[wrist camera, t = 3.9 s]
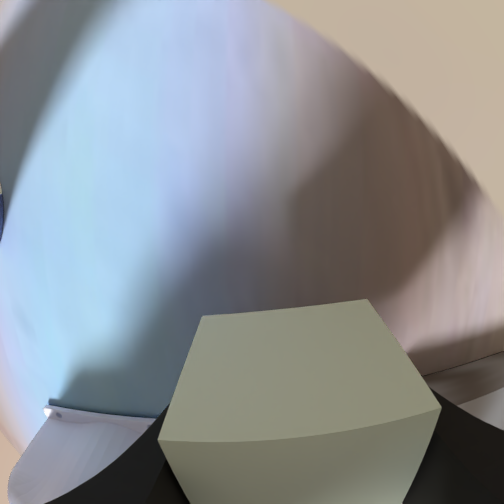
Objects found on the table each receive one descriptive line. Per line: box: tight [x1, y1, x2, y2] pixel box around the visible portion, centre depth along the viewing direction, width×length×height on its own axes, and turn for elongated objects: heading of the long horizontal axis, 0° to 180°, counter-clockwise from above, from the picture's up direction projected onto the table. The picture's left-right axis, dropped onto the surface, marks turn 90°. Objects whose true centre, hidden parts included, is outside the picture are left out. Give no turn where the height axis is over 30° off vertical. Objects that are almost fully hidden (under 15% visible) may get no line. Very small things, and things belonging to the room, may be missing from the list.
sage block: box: [158, 299, 442, 504], centre depth 8 cm, size 5×5×5 cm
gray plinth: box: [422, 351, 504, 430], centre depth 15 cm, size 10×10×3 cm
